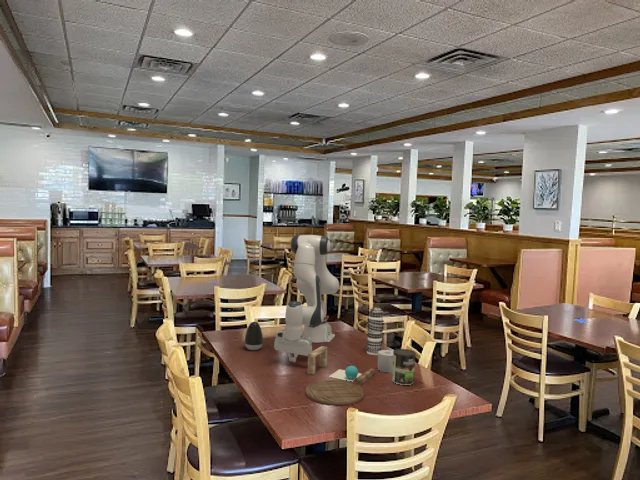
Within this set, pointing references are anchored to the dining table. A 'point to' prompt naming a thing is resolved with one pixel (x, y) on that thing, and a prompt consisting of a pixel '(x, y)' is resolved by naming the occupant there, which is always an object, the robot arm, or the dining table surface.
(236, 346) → the dining table surface
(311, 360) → the bridge
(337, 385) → the trivet
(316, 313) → the robot arm
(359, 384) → the stopper wall
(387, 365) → the toilet tissue
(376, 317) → the leaning tower model
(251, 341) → the speaker
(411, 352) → the coffee can
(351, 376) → the ball
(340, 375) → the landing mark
